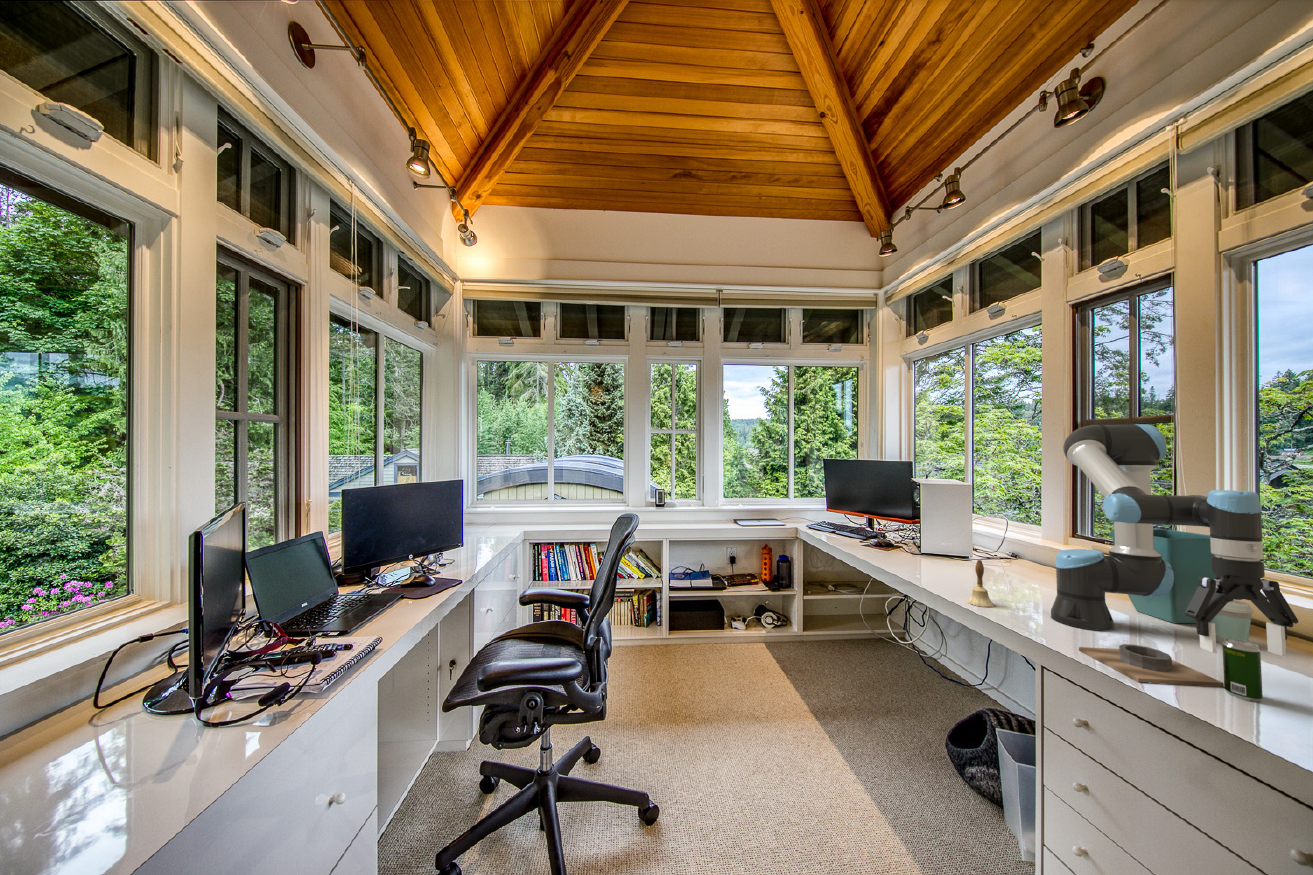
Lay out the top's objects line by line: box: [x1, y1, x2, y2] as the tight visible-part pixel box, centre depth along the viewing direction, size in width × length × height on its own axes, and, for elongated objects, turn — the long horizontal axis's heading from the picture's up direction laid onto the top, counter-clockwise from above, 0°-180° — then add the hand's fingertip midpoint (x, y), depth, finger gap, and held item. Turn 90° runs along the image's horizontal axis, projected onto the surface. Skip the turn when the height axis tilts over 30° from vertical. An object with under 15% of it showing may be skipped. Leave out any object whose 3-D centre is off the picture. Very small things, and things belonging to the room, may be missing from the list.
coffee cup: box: [1211, 599, 1254, 644], centre depth 133 cm, size 8×8×12 cm
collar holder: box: [1078, 643, 1224, 688], centre depth 118 cm, size 18×18×4 cm
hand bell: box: [966, 559, 995, 608], centre depth 168 cm, size 8×8×16 cm
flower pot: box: [1110, 528, 1223, 624], centre depth 155 cm, size 20×20×28 cm
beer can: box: [1221, 638, 1264, 702], centre depth 104 cm, size 5×5×12 cm
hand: (1242, 652), depth 104 cm, fingers open, 13 cm apart
